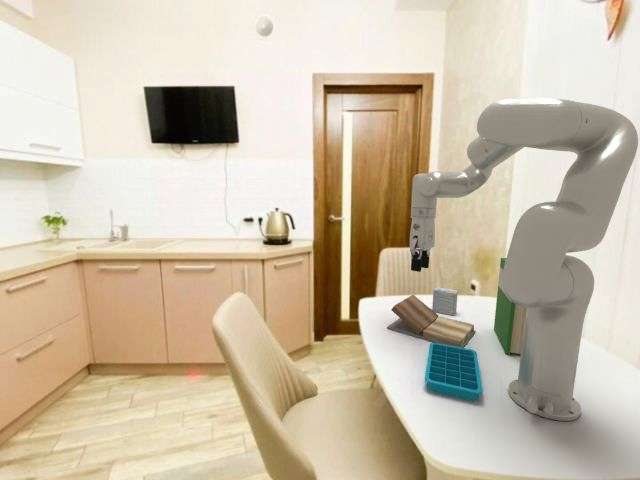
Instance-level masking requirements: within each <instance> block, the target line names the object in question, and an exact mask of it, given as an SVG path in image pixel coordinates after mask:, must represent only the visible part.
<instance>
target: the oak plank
mask: <svg viewBox="0 0 640 480" xmlns="http://www.w3.org/2000/svg"><path fill="white" fill-rule="evenodd" d="M474 328H475V324H472V323H467V322H463V321H459V320H457V319H456V320H455V319H452V318H448V317H444V316H439V317H438V318H437V319H436V320H435V321H434V322H433V323H432V324H431V325H429V326H428V327H427V328H426V329H425V330H424V331H423V337H425V338H428V339H431V340H435V341H438V342H441V343H445V344H448V345H451V346H455V347H461V346H462V345H463V344H464V342H465V341H466V340H467V339H468V337H469V336H470V335H471V333H472V332H473V331H474V330H475V329H474Z"/></svg>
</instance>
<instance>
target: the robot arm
mask: <svg viewBox="0 0 640 480" xmlns="http://www.w3.org/2000/svg"><path fill="white" fill-rule="evenodd" d="M476 132H477V134H478V136H477V137H476V138H474V139H473V140H472V141H471V142H470V143H469V144H468V146H467V148H466V154H467V158H468V160H469V162H470V163H471V164H470V165H468V166H467V167H466V168H464V169H463V170H461V171H431V172H427V173H418V174H415V175H414V176H413V177H412V188H411V189H412V190H411V207H410V218H411V225H410V231H409V251H410V259H411V260H410V261H411V263H410V270H411V271H412V272H419V273H420V272H422V269H429V266H430V254H431V253H430V252H431V249H433V248H434V247H435V243H436V242H435V241H436V239H435V238H436V221H435V219H436V215H437V203H438V202H437V200H438V199H447V198H449V199H452V198H453V199H458V198H459V199H460V198H464V197H466V196H469V195H471V194H472V193H474V192H475V191H476V190H479V189H480V188H481V187H482V186H484V185H485V184H486V183H487V181H488V180H489V178H490V177H491V175H492V172H493V169H494V168H496V167H497V166H499V165H500V164H501V163H503V162H505V161H506V160H508V159H509V158H510V157H512V156H513V155H515V154H517V153H518V152H520V151H521V150H523V149H524V148H529V149H531V148H532V149H539V150H547V151H557V152H571V153H575V154H576V155H577V157H576V159H575V160H574V162H573V163H572V164H571V165H570V167H569V168H568V169H567V171H566V173H565V175H564V178H563V179H562V183H561V185H560V186H561V187H560V189H559V190H560V191H559V192H558V196H557V198H556V200H555V201H545V202H539V203H537V204H535V205H533V206H531V207H530V208H527V210H526V211H525V212H524V213H523V214H522V215H521V216H520V218H519V219H518V221H517V223H516V225H515V227H514V231H513V234H512V237H511V241H510V245H509V248H508V250H507V255H506V257H505V258H506V261H505V265H504V269H503V274H502V285H503V289H504V292H505V294H506V295H507V297H508V298H509V299H510V300H511V301H512V302H513V303H515V304H517V305H519V306H522V307H527V312H526V316H525V322H524V330H523V339H522V347H521V354H520V356H519V357H520V358H519V366H518V367H519V368H518V375H517V379H515V380H512V381H511V382H509V384H508V389H507V390H508V395H509V396H510V398H511V399H512V400H513V401H514V402H515V403H516V404H518V405H519V406H520V407H521V408H523V409H525V410H527V411H528V412H529V413H530V414H535V415H537V416H540V417H543V418H546V419H550V420H552V421H553V420H556V421H560V422H561V421H562V422H564V421H565V422H567V421H574V420H577V419H578V418H579V417H580V416H581V412H582V407H581V405H580V403H579V401H578V400H577V399H576V398H575V397H574V396H573V395H574V389H575V384H576V376H577V369H578V361H579V354H580V347H581V340H582V334H583V328H584V324H585V323H584V322H585V317H586V315H587V311H588V308H589V304H590V302H591V299H592V297H593V293H594V289H595V277H594V273H593V271H592V269H591V267H589V265H588V264H587V263H586V262H584V261H583V260H581V259H580V258H578V257H575V256H572V255H568V254H567V253H579V252H585V251H589V250H592V249H594V248H596V247H598V245H599V244H601V243H602V241H603V240H604V238H605V236H606V233H607V230H608V229H609V225H610V223H611V220H612V217H613V216H614V215H613V214H614V211H615V209H616V207H617V204H618V202H619V198H620V196H621V193H622V189H623V187H624V184H625V182H626V179H627V177H628V174H629V172H630V170H631V167H632V165H633V163H634V160H635V158H636V155H637V152H638V151H637V150H638V145H639V135H638V131H637V128H636V127H635V125H634V123H633V121H631V120H630V119H629V118H627V117H626V116H625V115H624V114H622V113H620V112H619V111H617V110H614V109H611V108H608V107H605V106H601V105H599V104H598V105H596V104H592V103H586V102H580V101H575V100H570V99H561V98H505V99H498V100H496V101H494V102H492V103H490V104H489V105H488V106H486V107H485V108H484V110H483V111H482V112H481V113H480V114H479V117H478V119H477V122H476Z"/></svg>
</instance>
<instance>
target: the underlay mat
mask: <svg viewBox="0 0 640 480" xmlns="http://www.w3.org/2000/svg"><path fill="white" fill-rule="evenodd" d="M386 329H387V330H390V331H394V332H396V333H401V334H403V335H406V336H411V337H413V338H416V339H420V340H422V341H427V342H430V343H439V344H445V343H441V342H438V341H435V340H431V339H428V338H425V337H423V332H421V333H420V334H417V333H416V332H415V331H414V330H413V329H412V328H411V327H410V326H408V325H407V324H406V323H405V322H404V321H403V320H402V319H401V318H400V317H398V318H397V319H396V320H395V321H393V322H392V323H390V324H388V325H387V326H386ZM475 334H476V330H475V329H474V331H473V332H472V333H471V335H470V336H469V337H468V339H467V340H466V341H465V342H464V344H463V345H462V346H461V348H465V347H466V346H467V344H468V343H469V342H470V341H471V340H472V338H473V336H474V335H475ZM445 345H448V344H445ZM450 346H451V345H450Z"/></svg>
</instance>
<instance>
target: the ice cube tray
mask: <svg viewBox="0 0 640 480" xmlns="http://www.w3.org/2000/svg"><path fill="white" fill-rule="evenodd" d="M478 356H479V355H478V352H477V351H476V350H475V349H471V348H465V347H464V348H461V347H455V346H450V345H445V344H439V343H432V342H430V343H429V348H428V355H427V359H426V360H427V362H426V369H425V375H424V380H425V381H426V382H427V388H428V390H430V392H433V393H437V394H441V395H445V394H446V396H449V395H450V397H453V396H454V397H455V398H458V399H462V400H466V399H467V400H466V401H470V400H471V402H476V401H477V400H478V397H479V395H481V394H483V392H484V391H483V390H484V389H483V383H482V377H481V370H480V364H479V358H478Z"/></svg>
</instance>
